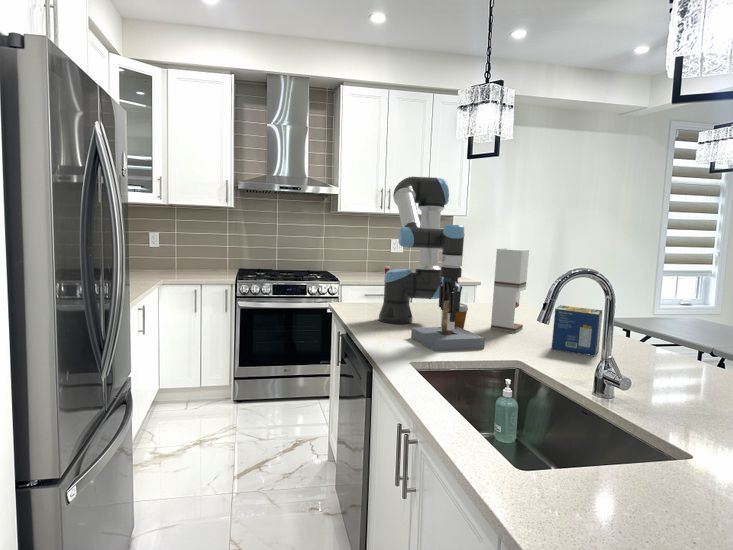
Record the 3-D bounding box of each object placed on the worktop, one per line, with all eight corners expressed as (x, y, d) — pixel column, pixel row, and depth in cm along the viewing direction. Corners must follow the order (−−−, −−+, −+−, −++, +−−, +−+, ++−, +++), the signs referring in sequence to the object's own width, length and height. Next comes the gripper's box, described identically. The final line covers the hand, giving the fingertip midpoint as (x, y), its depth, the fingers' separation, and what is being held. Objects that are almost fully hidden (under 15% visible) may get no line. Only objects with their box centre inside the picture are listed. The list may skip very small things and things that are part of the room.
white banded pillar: (515, 333, 217) (522, 250, 214) (490, 329, 223) (496, 248, 219) (522, 329, 227) (529, 249, 223) (498, 325, 233) (504, 248, 229)
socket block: (411, 337, 200) (411, 327, 199) (456, 336, 206) (457, 326, 206) (434, 351, 181) (435, 340, 180) (484, 348, 188) (484, 338, 187)
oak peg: (439, 337, 195) (441, 300, 193) (448, 336, 196) (451, 300, 194) (444, 339, 191) (447, 302, 189) (454, 339, 192) (456, 302, 191)
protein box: (556, 344, 201) (559, 304, 200) (599, 350, 194) (603, 310, 192) (550, 349, 192) (554, 308, 191) (595, 356, 185) (599, 313, 183)
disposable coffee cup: (465, 331, 216) (467, 303, 215) (467, 336, 207) (469, 307, 205) (442, 330, 217) (444, 302, 216) (443, 335, 207) (445, 305, 206)
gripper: (431, 264, 197) (428, 324, 200) (454, 268, 181) (449, 334, 184) (449, 264, 200) (445, 323, 202) (472, 269, 184) (468, 333, 186)
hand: (447, 328), depth 193 cm, fingers closed on oak peg, 4 cm apart
